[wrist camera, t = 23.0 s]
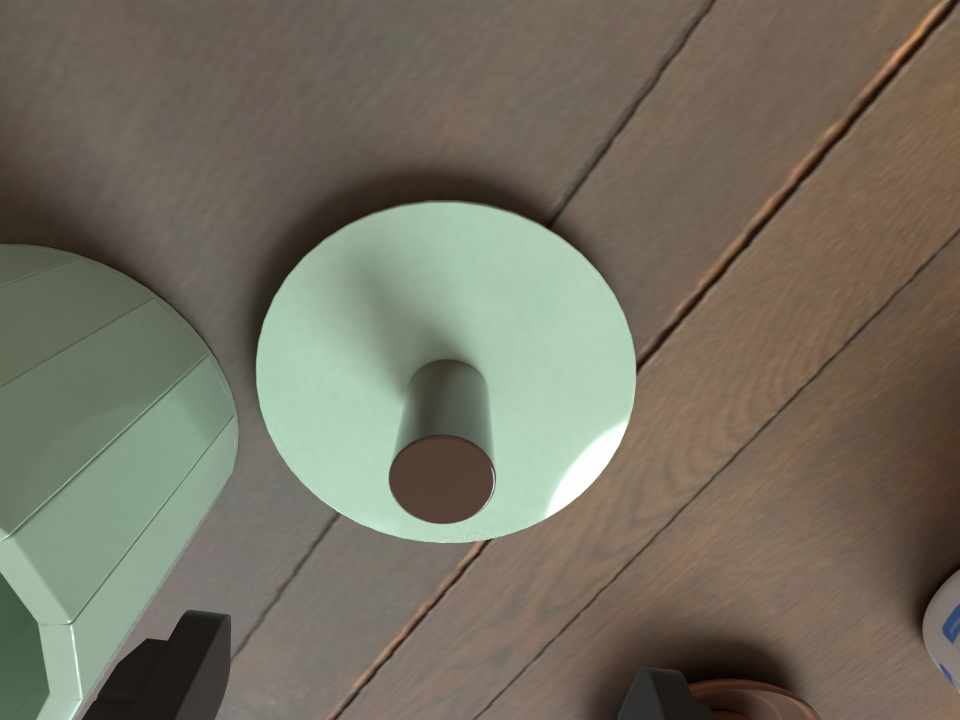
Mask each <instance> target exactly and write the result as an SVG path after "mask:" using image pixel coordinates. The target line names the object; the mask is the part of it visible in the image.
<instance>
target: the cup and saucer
mask: <svg viewBox="0 0 960 720" xmlns="http://www.w3.org/2000/svg"><path fill="white" fill-rule="evenodd" d="M688 686H689V689H690V691H691V694H692V696H693V699H694V701H695V704H703V705H708V707H709V708H710V709H711V711H712V712H713V713H714V715H715V716H716V717H717V719H718V720H822V719H821V718H820V716H819V715H818V714H817V713H816V712H815V711H814V709H813V708H812V707H811V706H810V705H809V704H808V703H806V702H805V701H804V700H803V699H801V698H800V697H798V696H797V695H795V694H793V693H791V692H789V691H787V690H784V689H782V688H779V687H776V686H773V685H770V684H766V683H763V682H758V681H753V680H746V679H714V680H706V681H700V682H695V683H691V684H688Z"/></svg>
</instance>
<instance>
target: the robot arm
mask: <svg viewBox="0 0 960 720" xmlns="http://www.w3.org/2000/svg"><path fill="white" fill-rule="evenodd" d="M230 644H231V617H230V615H229V614H220V613H212V612H204V611H195V610H188V611H186V612H185V613H184V614H183V616H182V617H181V619H180V620H179V622H178V624H177V625H176V627H175V629H174V631H173V632H172V634H171V636H170V638H169V639H168V641H165V640H156V639H148V638H147V639H146V640H145V641H143V642H142V643H141V644H140V645H139V646H138V647H136V648H135V649H134V650H133V651H132V652H131V653H130V654H128V655H127V656H126V657H125V658H124V659H123V660H121V661H120V662H119V663H118V664H117V666H116V667H115V669H114V670H113V672H112V673H111V675H110V677H109V678H108V680H107V681H106V683H105V684H104V686H103V687H102V689H101V691H100V692H99V694H98V697H97V699H96V701H93V703H92V705H91V706H90V708H89V709H88V711H87V712H86V714H85V715H84V717H83V719H82V720H215V717H216V715H217V712H218V710H219V708H220V705H221V703H222V700H223V697H224V694H225V690H226V687H227V683H228V678H229V672H230ZM617 720H718V719H717V717H716V716H715V715H714V713H713V712H712V711H711V709H710V708H709V707H708V705H703V704H695V701H694V699H693V696H692V694H691V691H690V689H689V686H688V683H687V681H686V679H685V677H684V675H683V674H682V673H681V672H680V671H677V670H669V669H661V668H653V667H644V666H643V667H640V668H639V669H638V671H637V673H636V675H635V678H634V680H633V682H632V684H631V687H630V689H629V691H628V693H627V696H626V698H625V700H624V702H623V705H622V707H621V709H620V711H619V714H618V718H617Z"/></svg>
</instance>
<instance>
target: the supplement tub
mask: <svg viewBox="0 0 960 720" xmlns="http://www.w3.org/2000/svg"><path fill="white" fill-rule="evenodd" d="M922 633H923V639H924V643H925V646H926V649H927V651H928V653H929V655H930V657H931V659H932V660H933V662H934V663H935V664H936V666H937V667H938V668H939V669H940V670H941V672H942V673H943V674H944V675H945V676H946V678H947V679H948V680H949V681H950V682H951V684H952V685H953V686H954V687H955V688H956V689H957V691H958V692H959V693H960V569H959V570H958V571H957V572H955V573H954V574H953V575H952V576H951V577H950V578H948V579H947V580H946V581H945V583H944V584H943V585H942V586H941V587H940V588H939V589H938V591H937V592H936V593H935V595H934V596H933V598H932V600H931V601H930V603H929V605H928V607H927V609H926V612H925V616H924V620H923V629H922Z"/></svg>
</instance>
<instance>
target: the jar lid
mask: <svg viewBox="0 0 960 720" xmlns="http://www.w3.org/2000/svg"><path fill="white" fill-rule="evenodd" d="M256 387H257V392H258V398H259V403H260V409H261V412H262V415H263V418H264V421H265V424H266V427H267V430H268V432H269V434H270V436H271V438H272V440H273V442H274V444H275V446H276V448H277V450H278V452H279V453H280V454H281V456H282V457H283V459H284V460H285V462H286V463H287V465H288V466H289V468H290V469H291V470H292V471H293V472H294V474H295V475H296V476H297V477H298V478H299V479H300V480H301V482H302V483H303V484H304V485H305V486H306V487H307V488H308V489H310V490H311V491H312V492H313V493H314V494H315V495H316V496H317V497H318V498H320V499H321V500H322V501H324V502H325V503H326V504H328V505H329V506H331V507H332V508H333V509H335V510H336V511H338V512H339V513H341V514H343V515H345V516H347V517H348V518H350V519H352V520H354V521H356V522H358V523H360V524H362V525H365V526H367V527H370V528H372V529H374V530H377V531H380V532H383V533H386V534H390V535H393V536H397V537H401V538H406V539H411V540H417V541H425V542H437V543H462V542H471V541H479V540H486V539H491V538H495V537H499V536H504V535H507V534H510V533H513V532H516V531H519V530H522V529H525V528H527V527H529V526H531V525H534V524H536V523H538V522H540V521H542V520H544V519H546V518H548V517H549V516H551V515H553V514H554V513H556V512H558V511H559V510H561V509H562V508H564V507H565V506H567V505H568V504H569V503H570V502H572V501H573V500H574V499H575V498H577V497H578V496H579V495H581V494H582V493H583V492H584V491H585V490H586V489H587V488H588V487H589V486H590V485H591V484H592V483H593V482H594V481H595V480H596V478H597V477H598V476H599V474H600V473H601V472H602V471H603V469H604V468H605V467H606V466H607V464H608V463H609V461H610V460H611V458H612V456H613V454H614V453H615V451H616V449H617V448H618V446H619V444H620V442H621V440H622V437H623V435H624V433H625V430H626V428H627V425H628V422H629V418H630V415H631V411H632V407H633V404H634V396H635V387H636V358H635V352H634V347H633V341H632V336H631V333H630V330H629V327H628V324H627V321H626V318H625V315H624V313H623V311H622V309H621V307H620V305H619V303H618V301H617V299H616V297H615V295H614V293H613V291H612V290H611V288H610V287H609V286H608V284H607V283H606V281H605V280H604V278H603V277H602V276H601V274H600V273H599V271H598V270H597V269H596V268H595V267H594V266H593V265H592V264H591V263H590V262H589V261H588V260H587V259H586V257H585V256H584V255H583V254H582V253H581V252H580V251H579V250H577V249H576V248H575V247H574V246H572V245H571V244H570V243H569V242H567V241H566V240H565V239H564V238H562V237H561V236H560V235H558V234H557V233H555V232H553V231H552V230H550V229H548V228H547V227H545V226H543V225H542V224H540V223H538V222H537V221H534V220H532V219H529V218H527V217H525V216H522V215H520V214H518V213H515V212H513V211H510V210H506V209H503V208H499V207H495V206H491V205H488V204H484V203H476V202H468V201H460V200H427V201H420V202H413V203H406V204H400V205H396V206H393V207H389V208H386V209H382V210H379V211H375V212H373V213H370V214H368V215H366V216H364V217H361V218H359V219H357V220H355V221H352V222H350V223H348V224H347V225H345V226H344V227H342V228H340V229H339V230H337V231H336V232H334V233H332V234H331V235H329V236H328V237H326V238H325V239H324V240H323V241H322V242H320V243H319V244H318V245H317V246H316V247H315V248H313V249H312V250H311V251H310V252H309V253H307V254H306V255H305V256H304V257H303V258H302V259H301V261H300V262H299V263H298V264H297V265H296V266H295V267H294V269H293V270H292V271H291V272H290V273H289V274H288V275H287V277H286V279H285V280H284V282H283V283H282V285H281V286H280V288H279V290H278V291H277V293H276V294H275V296H274V298H273V300H272V302H271V305H270V307H269V309H268V311H267V314H266V316H265V318H264V322H263V325H262V329H261V333H260V336H259V340H258V347H257V356H256Z"/></svg>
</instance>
